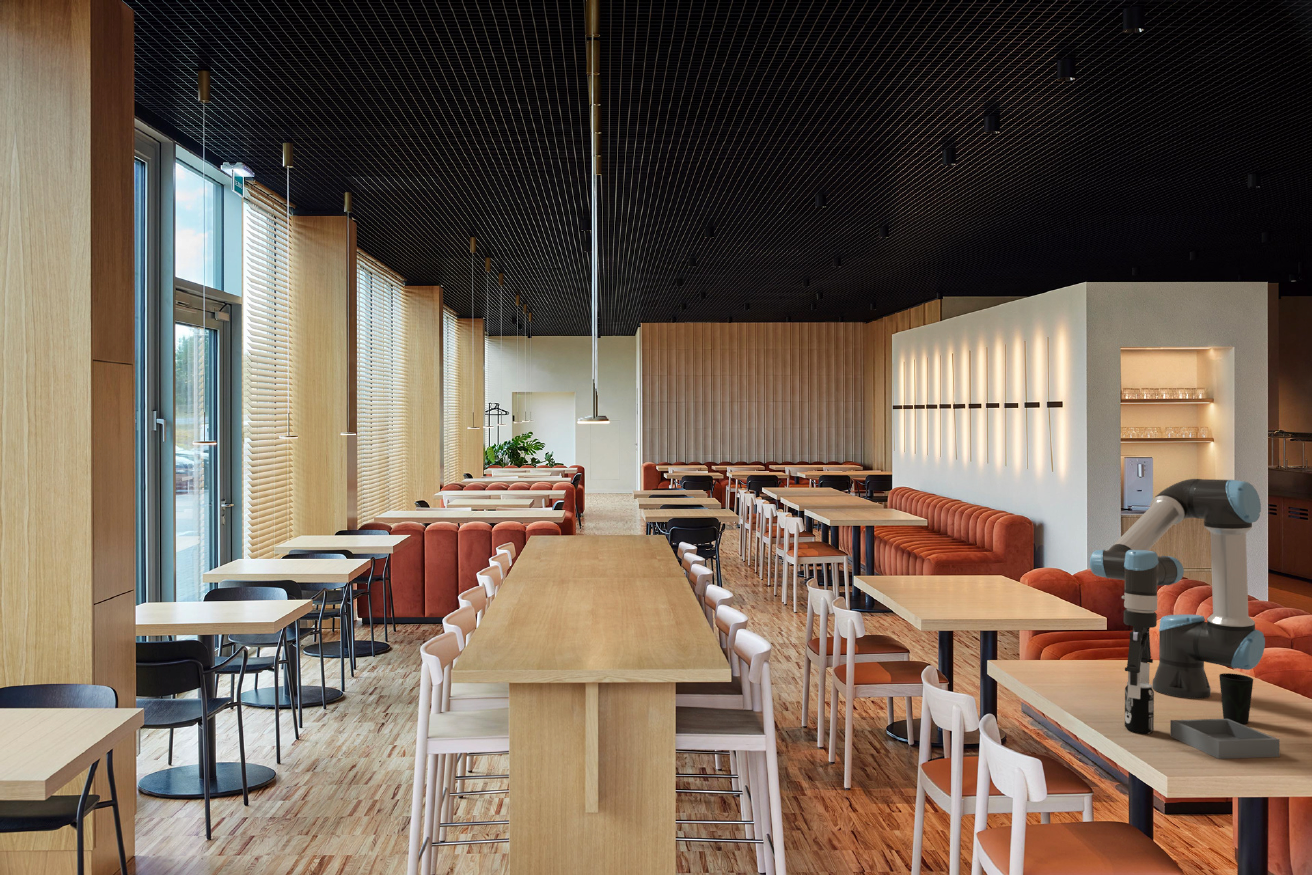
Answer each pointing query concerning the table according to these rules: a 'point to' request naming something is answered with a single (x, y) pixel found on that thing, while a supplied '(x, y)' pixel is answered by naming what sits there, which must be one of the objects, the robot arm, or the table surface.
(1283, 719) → the table surface
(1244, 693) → the cup
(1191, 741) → the tray
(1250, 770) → the table surface
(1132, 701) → the beverage can
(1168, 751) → the table surface
